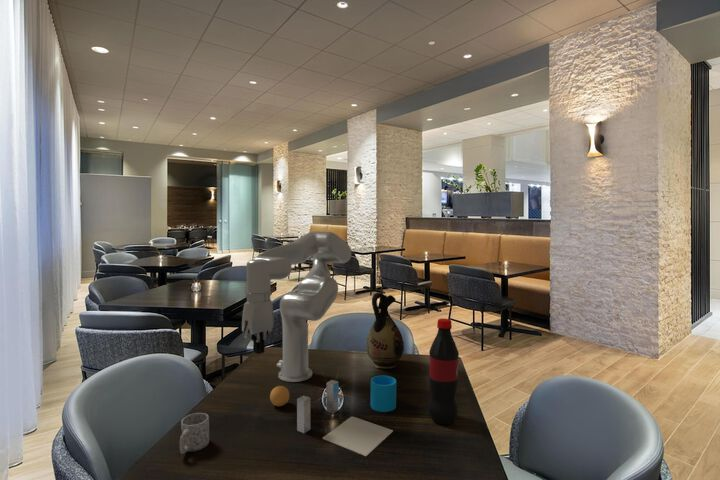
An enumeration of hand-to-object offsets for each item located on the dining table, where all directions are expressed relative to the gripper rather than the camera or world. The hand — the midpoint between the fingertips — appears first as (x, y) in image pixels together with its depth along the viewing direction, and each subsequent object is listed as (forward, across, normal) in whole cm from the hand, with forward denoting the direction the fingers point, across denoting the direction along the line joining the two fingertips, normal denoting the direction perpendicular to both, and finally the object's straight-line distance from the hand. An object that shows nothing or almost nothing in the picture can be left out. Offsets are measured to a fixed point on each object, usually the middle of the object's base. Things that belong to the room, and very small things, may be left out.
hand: (258, 352), depth 126 cm
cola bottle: (+15, -21, +56) cm, 61 cm away
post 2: (+15, -7, +26) cm, 30 cm away
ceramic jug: (+15, -48, +20) cm, 54 cm away
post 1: (+15, +6, +26) cm, 30 cm away
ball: (+12, 0, +10) cm, 15 cm away
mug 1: (+15, +29, +8) cm, 34 cm away
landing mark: (+15, 0, +40) cm, 42 cm away
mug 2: (+15, -20, +36) cm, 44 cm away
